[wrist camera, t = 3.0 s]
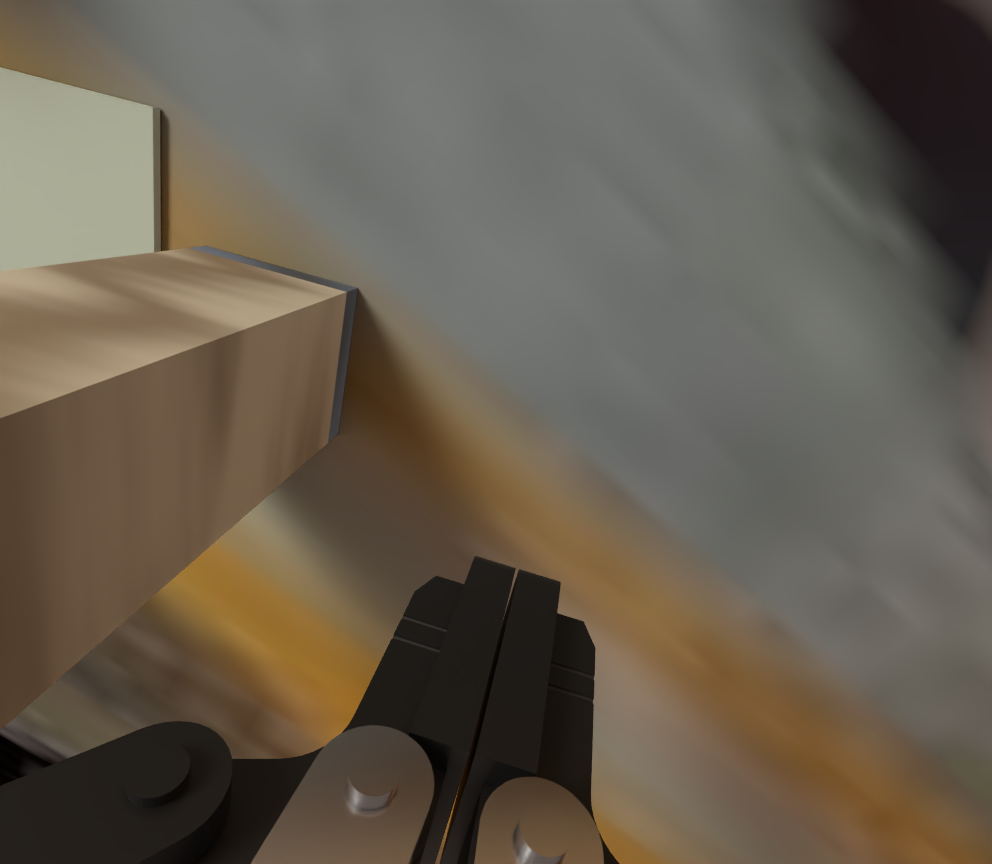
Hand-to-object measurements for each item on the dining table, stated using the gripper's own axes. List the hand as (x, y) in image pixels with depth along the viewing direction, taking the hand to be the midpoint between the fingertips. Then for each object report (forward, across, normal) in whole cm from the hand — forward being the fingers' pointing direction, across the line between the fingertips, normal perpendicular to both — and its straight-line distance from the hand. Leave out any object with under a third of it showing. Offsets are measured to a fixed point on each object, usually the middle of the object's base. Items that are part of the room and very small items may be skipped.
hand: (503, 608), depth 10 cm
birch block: (+9, +9, 0) cm, 13 cm away
